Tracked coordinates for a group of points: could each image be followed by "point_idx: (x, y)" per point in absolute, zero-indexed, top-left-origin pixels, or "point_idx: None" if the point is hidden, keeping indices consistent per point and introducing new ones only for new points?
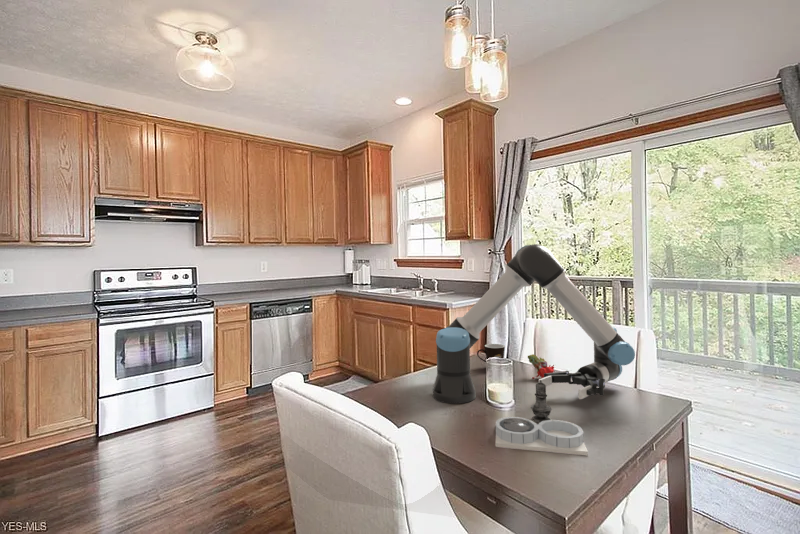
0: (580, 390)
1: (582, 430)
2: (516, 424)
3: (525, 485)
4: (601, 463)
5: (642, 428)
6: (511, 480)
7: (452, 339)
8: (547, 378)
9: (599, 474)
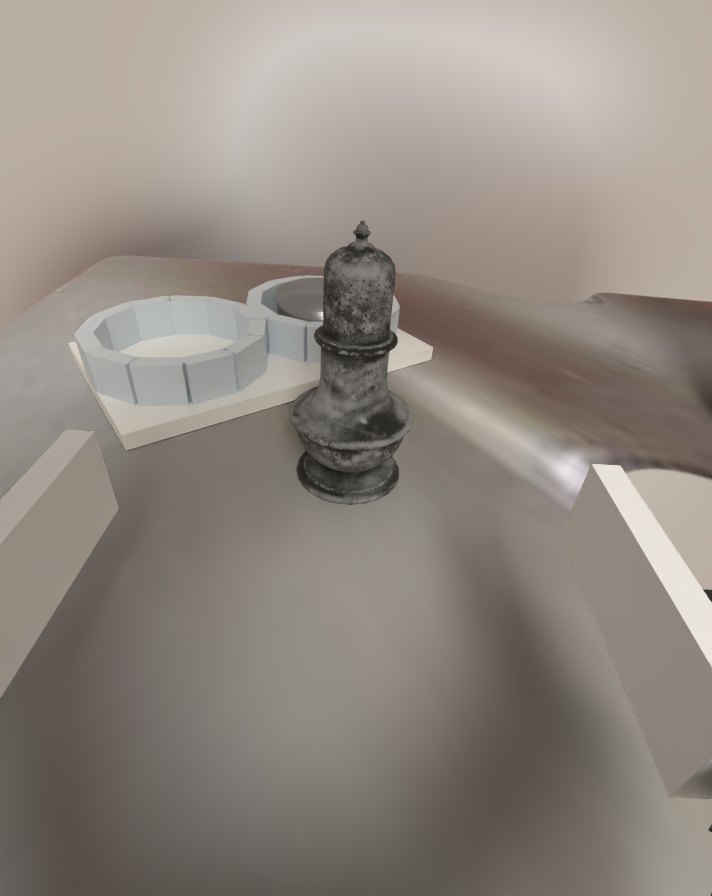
0: (69, 431)
1: (79, 342)
2: (317, 287)
3: (198, 267)
4: (26, 346)
5: None
6: (228, 267)
7: None
8: (659, 598)
9: (38, 318)
